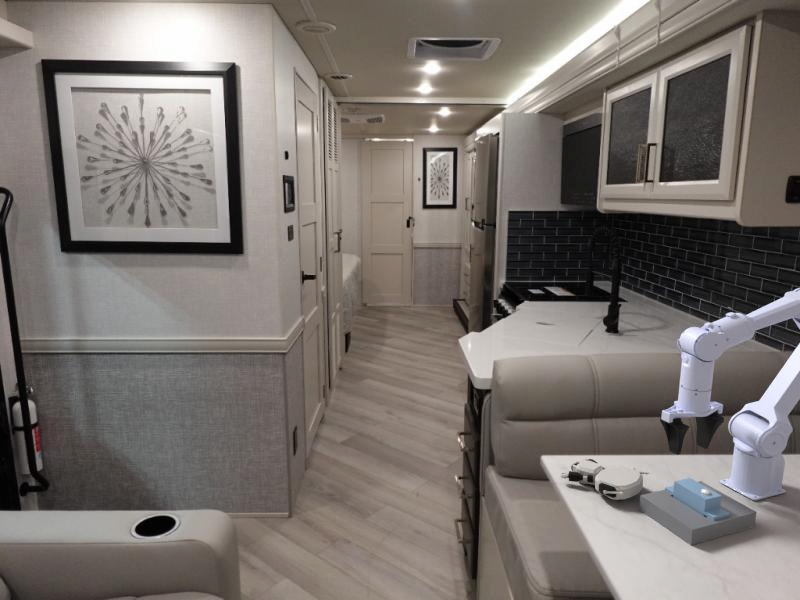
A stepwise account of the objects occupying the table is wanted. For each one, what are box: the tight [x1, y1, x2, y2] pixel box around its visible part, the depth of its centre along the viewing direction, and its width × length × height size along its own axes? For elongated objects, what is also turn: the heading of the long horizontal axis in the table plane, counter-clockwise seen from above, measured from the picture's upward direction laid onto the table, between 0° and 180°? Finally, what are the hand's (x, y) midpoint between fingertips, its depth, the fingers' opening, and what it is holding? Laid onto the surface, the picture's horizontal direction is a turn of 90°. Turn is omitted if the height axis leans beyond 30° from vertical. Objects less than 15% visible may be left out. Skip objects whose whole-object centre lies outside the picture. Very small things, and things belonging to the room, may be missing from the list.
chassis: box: [638, 480, 758, 546], centre depth 103 cm, size 16×12×3 cm
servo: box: [664, 477, 730, 520], centre depth 103 cm, size 4×11×6 cm, turn 20°
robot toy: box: [560, 458, 650, 501], centre depth 114 cm, size 12×4×15 cm
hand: (688, 449), depth 111 cm, fingers open, 7 cm apart
